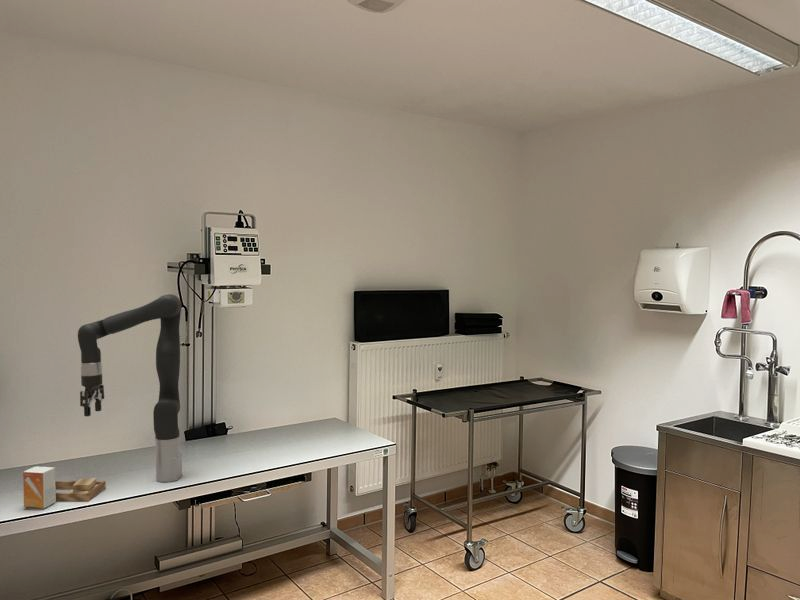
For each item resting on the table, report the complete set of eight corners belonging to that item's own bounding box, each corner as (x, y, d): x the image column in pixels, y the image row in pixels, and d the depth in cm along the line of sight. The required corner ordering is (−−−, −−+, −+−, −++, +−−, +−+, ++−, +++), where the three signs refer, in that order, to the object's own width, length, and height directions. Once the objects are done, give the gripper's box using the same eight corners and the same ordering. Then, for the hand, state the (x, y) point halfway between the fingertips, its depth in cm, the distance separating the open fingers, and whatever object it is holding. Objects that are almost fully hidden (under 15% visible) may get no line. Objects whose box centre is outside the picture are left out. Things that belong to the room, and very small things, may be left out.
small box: (23, 507, 216) (22, 471, 215) (36, 500, 222) (35, 465, 222) (44, 508, 215) (42, 472, 214) (56, 501, 221) (55, 466, 220)
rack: (105, 488, 235) (105, 473, 235) (88, 501, 222) (87, 485, 222) (47, 488, 236) (46, 473, 235) (26, 501, 223) (25, 485, 222)
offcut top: (96, 484, 233) (96, 478, 233) (89, 491, 226) (89, 484, 226) (80, 485, 232) (79, 478, 232) (72, 492, 225) (72, 485, 225)
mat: (55, 502, 222) (55, 500, 222) (43, 509, 215) (43, 508, 215) (36, 501, 222) (36, 500, 222) (24, 509, 215) (24, 508, 215)
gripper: (92, 376, 233) (93, 418, 234) (109, 370, 247) (110, 409, 248) (72, 376, 233) (74, 418, 234) (91, 370, 247) (92, 409, 248)
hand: (93, 413), depth 241 cm, fingers open, 8 cm apart
